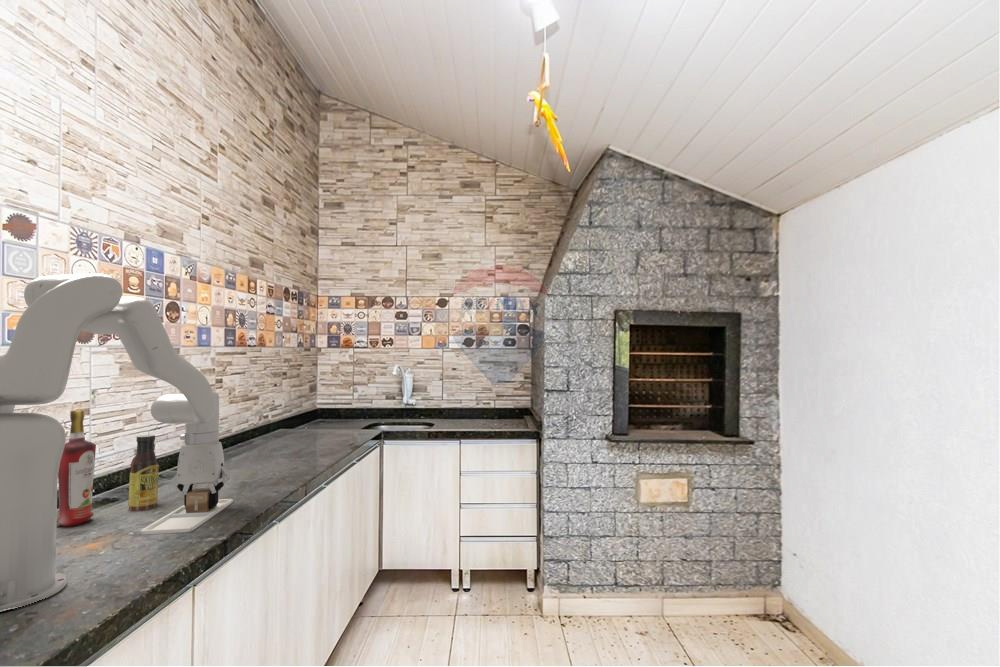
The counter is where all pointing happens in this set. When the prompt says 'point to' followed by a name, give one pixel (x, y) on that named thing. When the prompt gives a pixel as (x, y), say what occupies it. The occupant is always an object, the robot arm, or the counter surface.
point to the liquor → (76, 475)
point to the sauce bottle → (143, 476)
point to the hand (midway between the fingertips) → (201, 507)
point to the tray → (183, 520)
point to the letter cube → (198, 500)
